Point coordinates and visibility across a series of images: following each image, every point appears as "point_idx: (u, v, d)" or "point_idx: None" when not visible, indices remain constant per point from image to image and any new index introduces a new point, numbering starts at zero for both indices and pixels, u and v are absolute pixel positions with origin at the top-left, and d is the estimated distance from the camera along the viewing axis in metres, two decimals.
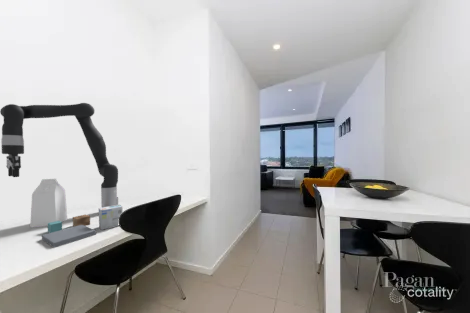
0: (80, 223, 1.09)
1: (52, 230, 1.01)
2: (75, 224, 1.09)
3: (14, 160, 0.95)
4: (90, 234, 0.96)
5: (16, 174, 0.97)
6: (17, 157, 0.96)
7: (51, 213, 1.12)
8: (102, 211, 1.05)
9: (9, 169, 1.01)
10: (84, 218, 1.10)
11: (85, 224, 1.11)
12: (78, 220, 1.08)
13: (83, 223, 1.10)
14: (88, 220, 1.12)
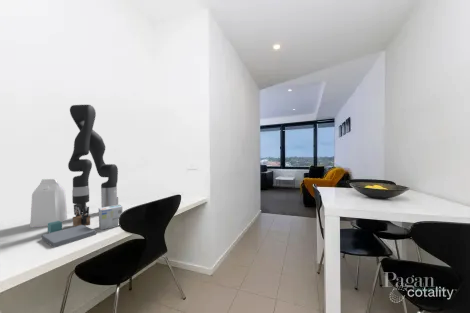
0: (80, 223, 1.09)
1: (52, 230, 1.01)
2: (75, 224, 1.09)
3: (84, 211, 1.07)
4: (90, 234, 0.96)
5: (84, 222, 1.09)
6: (86, 208, 1.08)
7: (51, 213, 1.12)
8: (102, 211, 1.05)
9: None
10: None
11: None
12: (78, 220, 1.08)
13: None
14: (88, 220, 1.12)
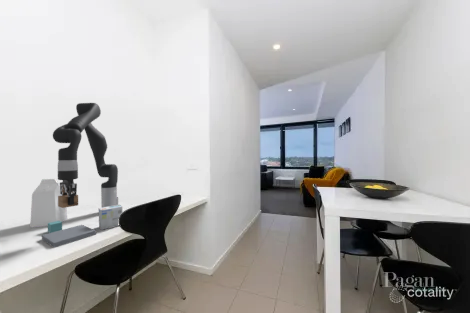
0: (66, 202, 0.93)
1: (52, 230, 1.01)
2: (60, 204, 0.93)
3: (71, 188, 0.92)
4: (90, 234, 0.96)
5: (71, 202, 0.94)
6: (74, 185, 0.92)
7: (51, 213, 1.12)
8: (102, 211, 1.04)
9: None
10: None
11: None
12: (64, 199, 0.92)
13: None
14: (76, 200, 0.96)
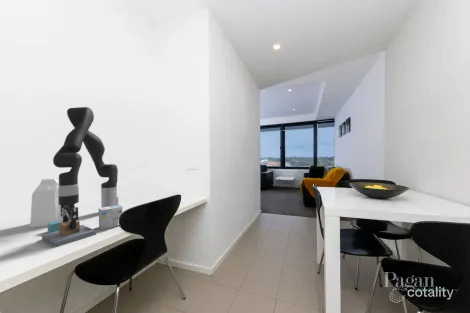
0: (68, 230, 0.93)
1: (52, 230, 1.01)
2: (62, 231, 0.93)
3: (72, 212, 0.91)
4: (90, 234, 0.96)
5: (73, 226, 0.93)
6: (75, 209, 0.92)
7: (51, 213, 1.12)
8: (102, 211, 1.05)
9: (64, 219, 0.97)
10: None
11: (74, 231, 0.95)
12: (65, 227, 0.92)
13: (71, 231, 0.94)
14: (77, 226, 0.96)
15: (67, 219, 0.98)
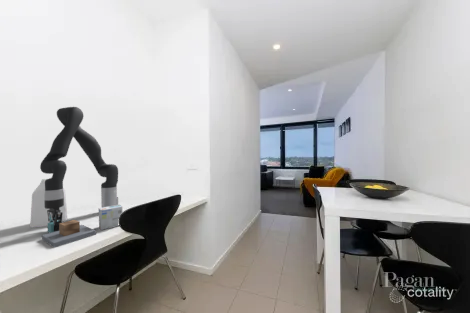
0: (68, 230, 0.93)
1: (52, 230, 1.01)
2: (62, 231, 0.93)
3: (57, 217, 0.99)
4: (90, 234, 0.96)
5: (57, 229, 1.02)
6: (59, 214, 1.00)
7: None
8: (102, 211, 1.04)
9: None
10: (73, 224, 0.95)
11: (74, 231, 0.95)
12: (65, 227, 0.92)
13: (71, 231, 0.94)
14: (77, 226, 0.96)
15: None
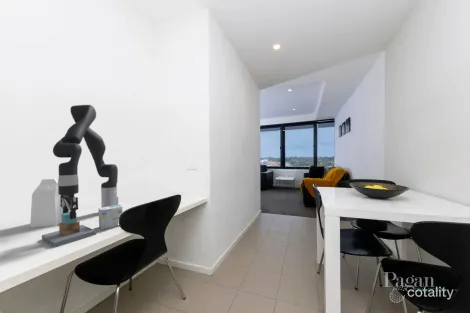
0: (68, 230, 0.93)
1: (66, 221, 0.93)
2: (62, 231, 0.93)
3: (72, 202, 0.91)
4: (90, 234, 0.96)
5: (73, 216, 0.93)
6: (75, 199, 0.92)
7: (51, 213, 1.12)
8: (102, 211, 1.05)
9: (64, 209, 0.97)
10: (73, 224, 0.95)
11: (74, 231, 0.95)
12: (65, 227, 0.92)
13: (71, 231, 0.94)
14: (77, 226, 0.96)
15: (67, 210, 0.98)
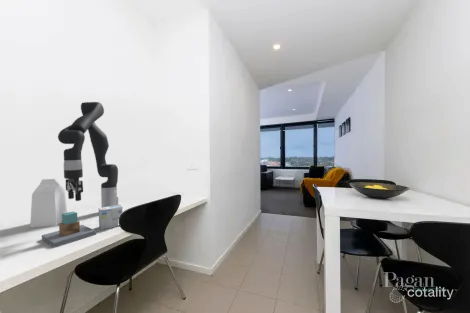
0: (68, 230, 0.93)
1: (67, 221, 0.93)
2: (62, 231, 0.93)
3: (78, 185, 0.98)
4: (90, 234, 0.96)
5: (79, 198, 1.00)
6: (80, 182, 0.99)
7: (51, 213, 1.12)
8: (102, 211, 1.05)
9: (69, 192, 1.04)
10: (73, 224, 0.95)
11: (74, 231, 0.95)
12: (65, 227, 0.92)
13: (71, 231, 0.94)
14: (77, 226, 0.96)
15: (72, 193, 1.05)
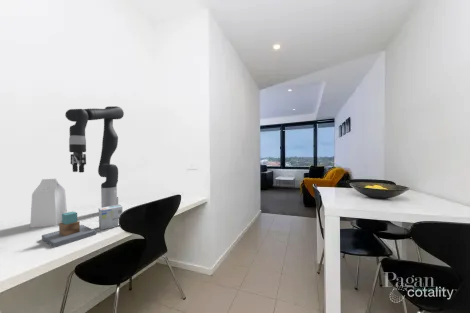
0: (68, 230, 0.93)
1: (67, 221, 0.93)
2: (62, 231, 0.93)
3: (81, 157, 1.08)
4: (90, 234, 0.96)
5: (82, 170, 1.10)
6: (83, 155, 1.09)
7: (51, 213, 1.12)
8: (102, 211, 1.05)
9: (73, 165, 1.14)
10: (73, 224, 0.95)
11: (74, 231, 0.95)
12: (65, 227, 0.92)
13: (71, 231, 0.94)
14: (77, 226, 0.96)
15: (76, 166, 1.15)
